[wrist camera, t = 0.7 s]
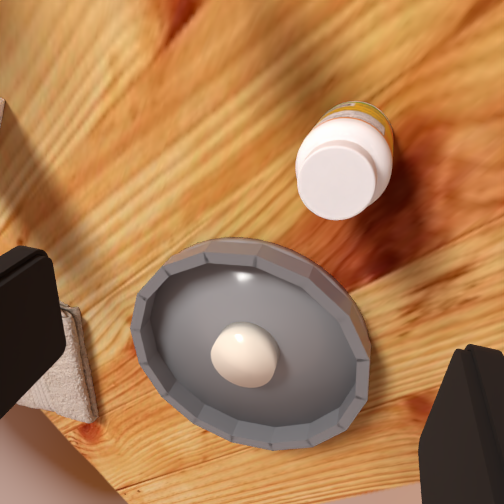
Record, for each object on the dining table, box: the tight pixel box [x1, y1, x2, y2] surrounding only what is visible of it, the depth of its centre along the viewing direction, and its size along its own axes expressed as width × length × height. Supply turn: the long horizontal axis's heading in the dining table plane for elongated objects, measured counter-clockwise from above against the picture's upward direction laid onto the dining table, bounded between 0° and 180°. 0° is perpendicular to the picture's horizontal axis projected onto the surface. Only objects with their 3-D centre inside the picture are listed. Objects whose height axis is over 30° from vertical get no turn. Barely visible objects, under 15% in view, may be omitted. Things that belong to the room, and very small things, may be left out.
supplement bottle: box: [296, 101, 394, 220], centre depth 26 cm, size 5×5×10 cm
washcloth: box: [17, 301, 99, 423], centre depth 51 cm, size 12×18×3 cm, turn 177°
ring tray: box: [130, 237, 371, 451], centre depth 40 cm, size 22×22×3 cm
